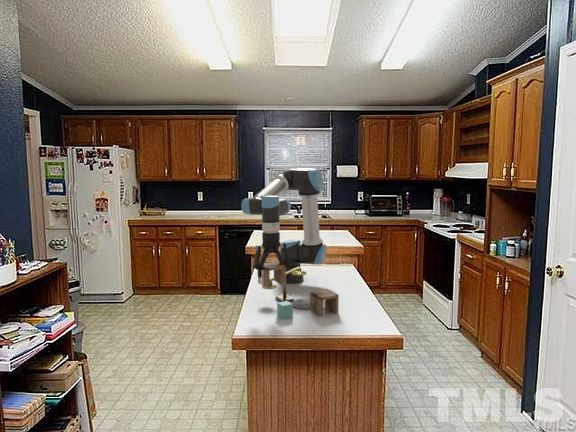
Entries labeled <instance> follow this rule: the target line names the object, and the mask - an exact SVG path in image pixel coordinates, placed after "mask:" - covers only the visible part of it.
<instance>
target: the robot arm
mask: <svg viewBox="0 0 576 432" xmlns="http://www.w3.org/2000/svg"><path fill="white" fill-rule="evenodd" d="M323 188H324V178H323V174H322V173H321V171H320V170H319V169H318V168H290V169H286V170H284V171H282V172H280V173H278V174H277V175H275V176H274V177H273V179H272V180H271V182H270V183H268V184H267V185H266V186H265V187H264V188H262V190H260V191H259V192H258V193H256V194H255V195H254V196H253V197H248V198H244V199H243V200H242V201H241V205H240V206H241V212H242V213H243V214H244V215H250V216H252V215H254V216H255V215H256V216H261V231H262V234H261V235H262V243H261V245H255V256H254V261H253V266H252V268H253V269H255V270H257V278H258V277H259V278H260V285H261V286H262V285H264V270H262V268H263V265H264V263H266V260H267V259H268V256H269V255H270V254H274V255H275V256H276V259H277V261H278V263H280V264H283V265H285V266H286V272H288V271H290V270H292V269H295V268H297V267H300V271H303V270H302V268H301V264H306V265H322V264H323V263H324V262H325V260H326V257H327V250H328V248H327V244H325V243H323V239H321V235H320V223H319V221H320V220H319V204H318V196H319V195H320V194H321V191H322V190H323ZM287 191H297V193H298V196H299V197H300V198H301V211H302V212H301V213H302V225H303V239H302V240H300V239H290V240H285V241H280V240H281V236H280V235H281V233H280V232H279V231H280V229H281V226H280V225H281V224H280V217H281V216H285V215H287V214H288V213H290V210H291V208H292V206H291V202H290V201H289V200H288V199H286V198H281V197H279V196H280V195H281V194H283V193H286V192H287ZM296 271H299V269H298V270H296ZM304 280H305V279H304V275H303V276H296V275H293V274H292V272H291V273H289V274H287V275H286V284H299V283H301V282H303V281H304Z"/></svg>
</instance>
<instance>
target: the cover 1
mask: <svg viewBox="0 0 576 432" xmlns="http://www.w3.org/2000/svg"><path fill="white" fill-rule="evenodd" d="M262 270H264V285H263V286H264V287H266V288H270V279H271V278H270V271H273V278H274V280H273V281H274V282H276V283H278V284H281V286H283V285H286V286H287V283H286V266H285V265H283V264H280V262H279V261H271V262H270V261H269V262H265V263H264V265H263V268H262ZM257 283H258V284H260V278H259V277H258V276H257ZM260 285H261V284H260Z"/></svg>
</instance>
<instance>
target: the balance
mask: <svg viewBox="0 0 576 432" xmlns="http://www.w3.org/2000/svg"><path fill="white" fill-rule="evenodd" d="M300 267H301V266H300ZM300 267H297V268H295V269H292V270H290V271H288V272H286V275H287V274H289V273H291V272H292V274H293V275H296V276H303V277H304V276H306V275H307V271H303V270H302V271H300ZM298 269H299V271H296V270H298ZM273 281H274V277H272V278H270V288H266V287H264V286H263V285H261V288H262V289H264V290H274V289H277V284H274V283H273ZM275 300H276V301H278V302H284V301H288V302H290V303H292V302H293V301H294V300H295V298H294V297H292V296H290V295H289V294H287V284H286V285H282V294H279V295H275Z"/></svg>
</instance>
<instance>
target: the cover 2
mask: <svg viewBox="0 0 576 432" xmlns="http://www.w3.org/2000/svg"><path fill="white" fill-rule="evenodd" d="M309 296H310V297H309V299H310V309H309V311H310V312H312V313H313V314H315V315H317V316H318V317H320V318H322V317H324V308H325V309H326V310H328V311H330V312H332V313H333V314H335V315H336V314H337V315H338V314H339V294H338V293H336V292H334V291H332V290H329V289H322V290H316V291H311V292H309Z"/></svg>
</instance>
